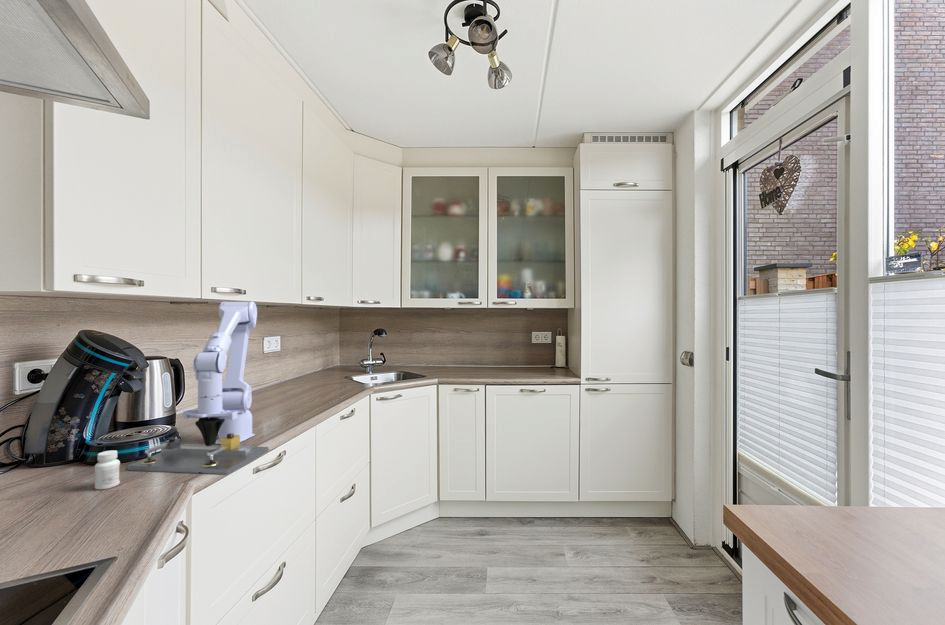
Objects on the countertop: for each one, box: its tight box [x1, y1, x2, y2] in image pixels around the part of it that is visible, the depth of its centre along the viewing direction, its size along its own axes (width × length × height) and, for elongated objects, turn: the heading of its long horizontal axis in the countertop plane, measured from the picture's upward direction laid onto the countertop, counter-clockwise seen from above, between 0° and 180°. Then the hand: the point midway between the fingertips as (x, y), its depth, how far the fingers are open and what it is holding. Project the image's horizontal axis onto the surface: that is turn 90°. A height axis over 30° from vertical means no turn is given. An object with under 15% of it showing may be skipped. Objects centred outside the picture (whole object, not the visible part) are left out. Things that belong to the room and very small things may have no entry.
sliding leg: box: [207, 433, 241, 463], centre depth 109 cm, size 10×3×5 cm, turn 174°
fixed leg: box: [144, 437, 182, 460], centre depth 111 cm, size 9×2×3 cm, turn 174°
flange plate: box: [128, 443, 269, 475], centre depth 111 cm, size 17×27×1 cm, turn 84°
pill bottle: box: [94, 450, 121, 490], centre depth 95 cm, size 4×4×8 cm
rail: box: [160, 446, 250, 456], centre depth 113 cm, size 2×25×2 cm, turn 84°
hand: (210, 444), depth 113 cm, fingers closed
